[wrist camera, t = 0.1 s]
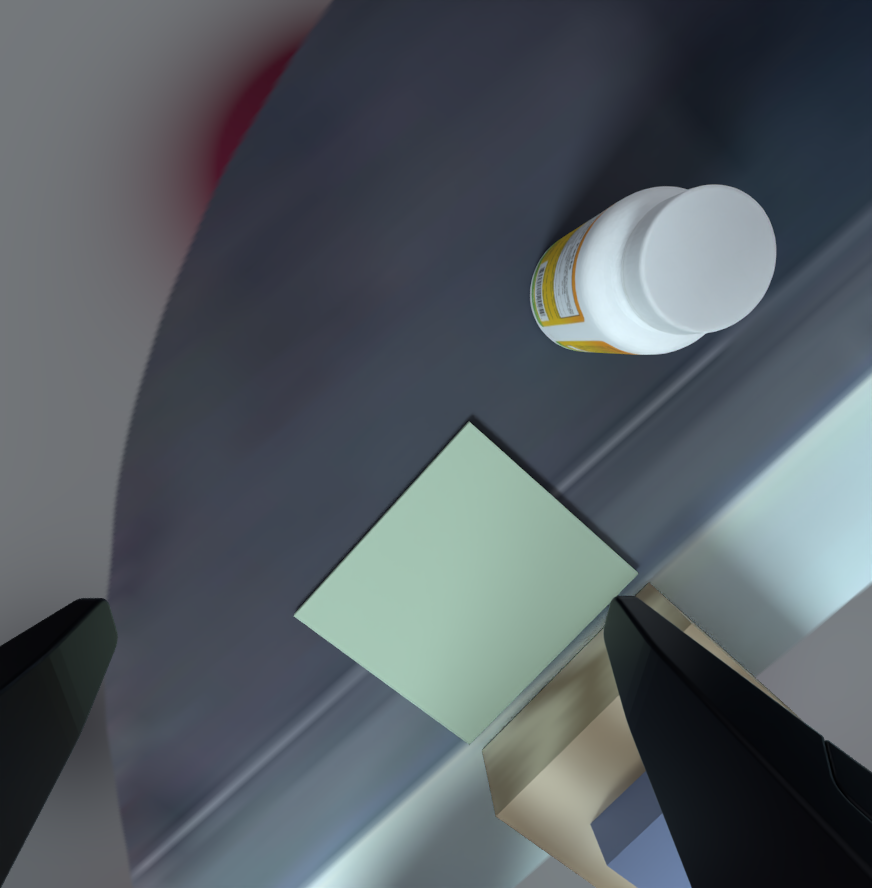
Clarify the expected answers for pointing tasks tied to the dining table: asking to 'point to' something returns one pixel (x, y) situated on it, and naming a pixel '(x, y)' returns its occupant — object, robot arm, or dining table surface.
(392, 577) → the mat
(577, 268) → the supplement bottle
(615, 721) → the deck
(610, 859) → the periwinkle blue block
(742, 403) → the dining table surface
